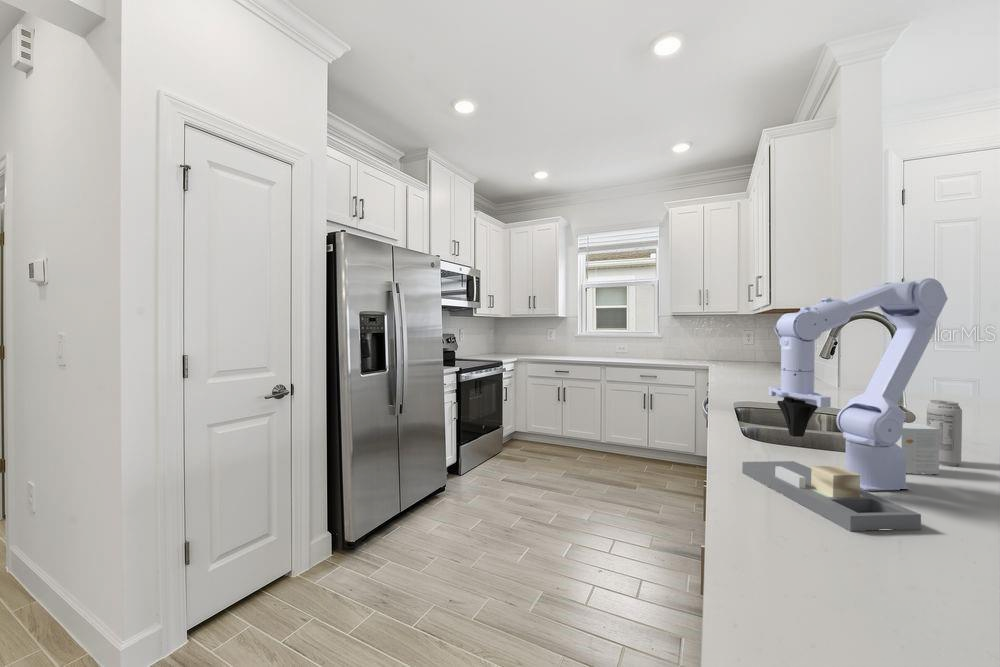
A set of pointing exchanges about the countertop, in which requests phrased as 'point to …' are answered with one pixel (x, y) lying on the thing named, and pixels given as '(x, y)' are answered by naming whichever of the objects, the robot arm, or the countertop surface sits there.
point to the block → (835, 481)
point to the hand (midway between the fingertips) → (796, 435)
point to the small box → (920, 448)
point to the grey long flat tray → (832, 499)
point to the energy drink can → (947, 429)
